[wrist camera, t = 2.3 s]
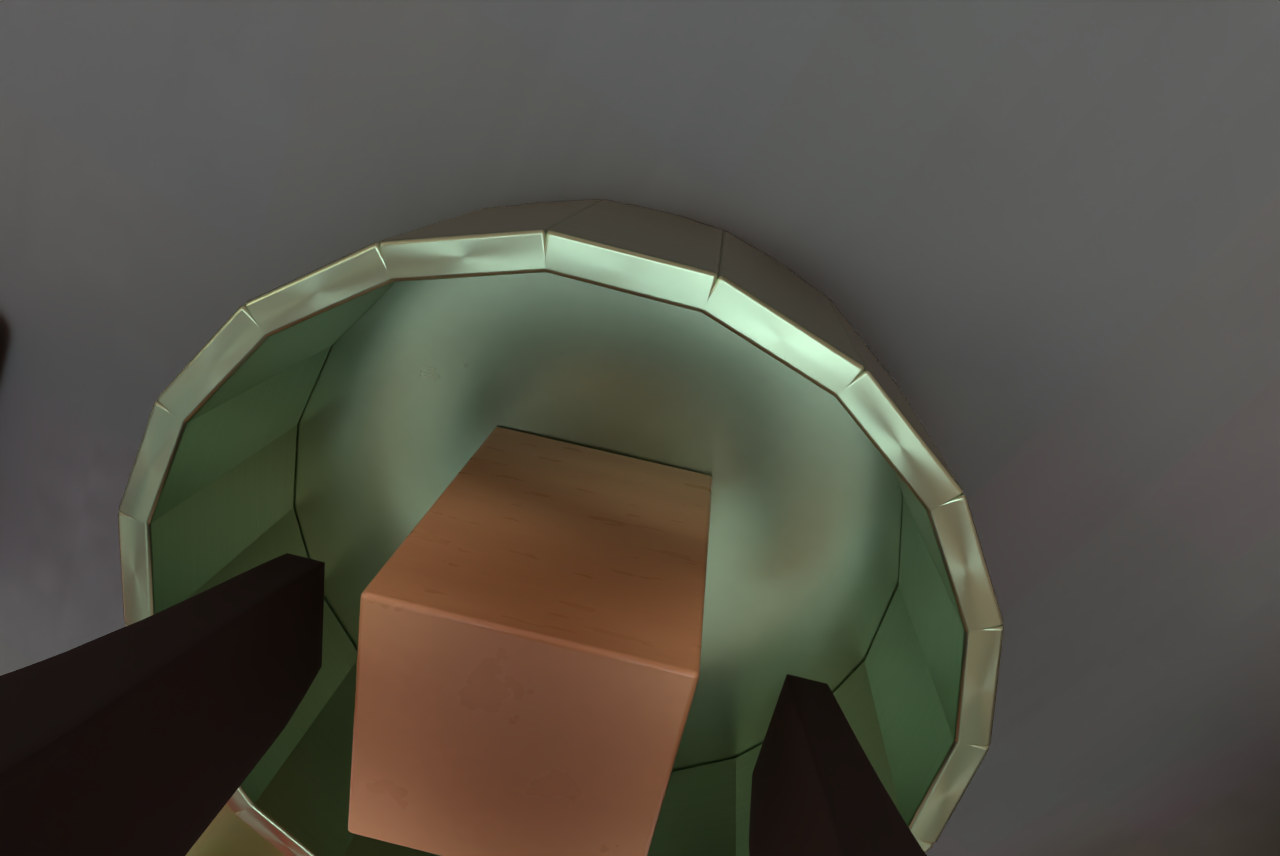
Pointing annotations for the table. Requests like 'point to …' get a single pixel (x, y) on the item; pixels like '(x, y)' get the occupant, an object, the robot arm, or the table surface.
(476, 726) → the block
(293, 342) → the tin
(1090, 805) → the table surface
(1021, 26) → the table surface
